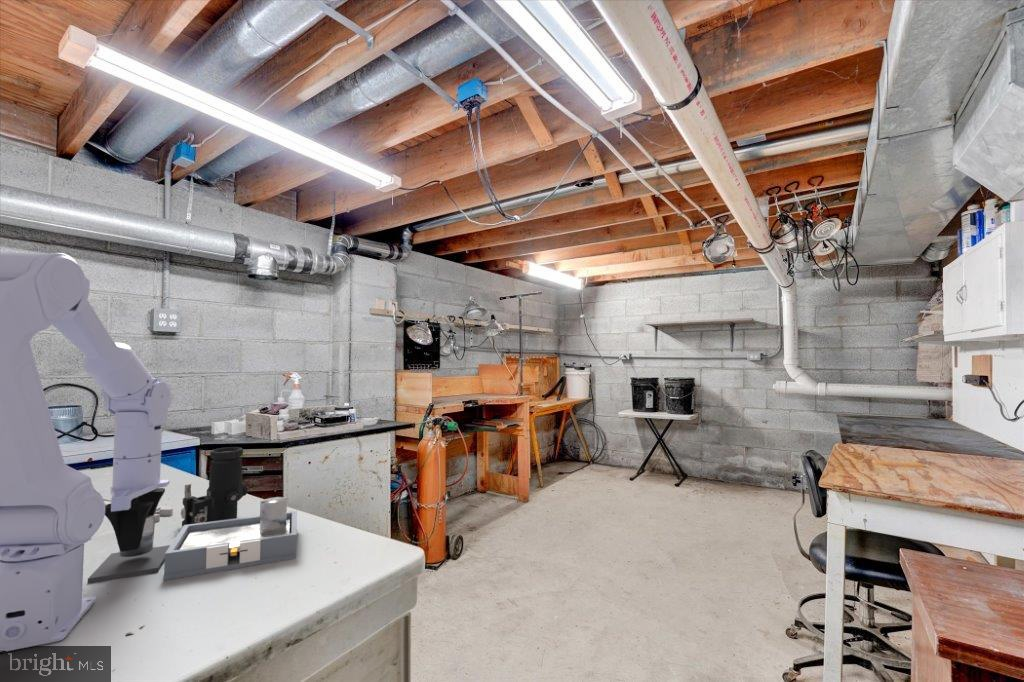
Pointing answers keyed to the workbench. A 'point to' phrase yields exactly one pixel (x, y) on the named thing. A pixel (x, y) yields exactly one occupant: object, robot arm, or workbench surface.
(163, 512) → the adjustable wrench
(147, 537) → the cylinder
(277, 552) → the tray
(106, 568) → the rubber mat
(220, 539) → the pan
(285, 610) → the workbench surface
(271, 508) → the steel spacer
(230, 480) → the scope
